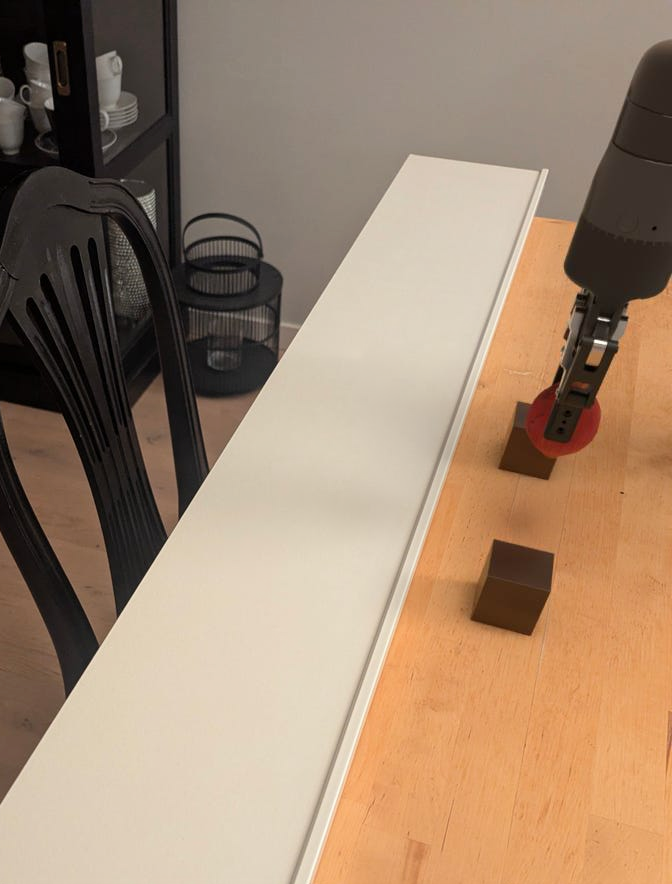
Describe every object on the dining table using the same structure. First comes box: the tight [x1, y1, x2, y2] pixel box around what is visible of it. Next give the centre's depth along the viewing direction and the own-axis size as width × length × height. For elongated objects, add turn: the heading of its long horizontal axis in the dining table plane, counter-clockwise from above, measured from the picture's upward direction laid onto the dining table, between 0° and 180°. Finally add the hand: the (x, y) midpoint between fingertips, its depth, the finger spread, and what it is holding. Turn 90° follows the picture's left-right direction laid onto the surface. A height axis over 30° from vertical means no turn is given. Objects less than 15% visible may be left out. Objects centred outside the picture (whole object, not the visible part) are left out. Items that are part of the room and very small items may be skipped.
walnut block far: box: [497, 400, 558, 480], centre depth 92 cm, size 5×5×5 cm
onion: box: [525, 381, 602, 459], centre depth 77 cm, size 6×6×8 cm
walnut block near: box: [470, 538, 555, 636], centre depth 76 cm, size 5×5×5 cm
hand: (557, 418), depth 77 cm, fingers closed on onion, 6 cm apart
